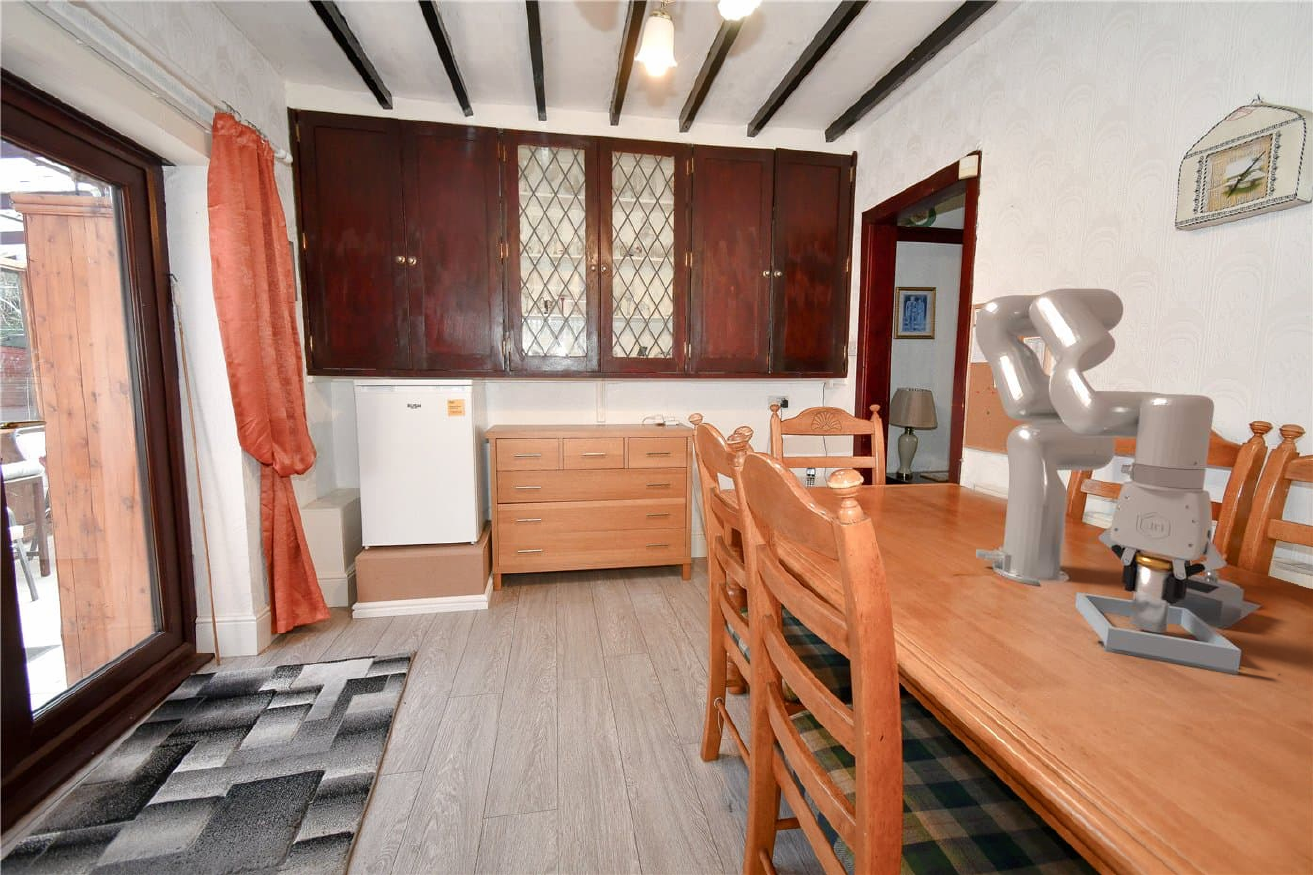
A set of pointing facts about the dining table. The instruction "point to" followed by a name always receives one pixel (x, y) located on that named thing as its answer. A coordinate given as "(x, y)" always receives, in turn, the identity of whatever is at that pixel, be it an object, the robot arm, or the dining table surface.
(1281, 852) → the dining table surface
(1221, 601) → the dark grey slotted base
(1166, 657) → the gray square frame
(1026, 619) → the dining table surface
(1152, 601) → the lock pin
